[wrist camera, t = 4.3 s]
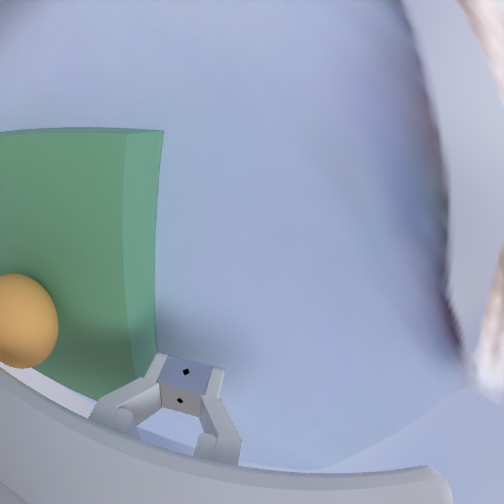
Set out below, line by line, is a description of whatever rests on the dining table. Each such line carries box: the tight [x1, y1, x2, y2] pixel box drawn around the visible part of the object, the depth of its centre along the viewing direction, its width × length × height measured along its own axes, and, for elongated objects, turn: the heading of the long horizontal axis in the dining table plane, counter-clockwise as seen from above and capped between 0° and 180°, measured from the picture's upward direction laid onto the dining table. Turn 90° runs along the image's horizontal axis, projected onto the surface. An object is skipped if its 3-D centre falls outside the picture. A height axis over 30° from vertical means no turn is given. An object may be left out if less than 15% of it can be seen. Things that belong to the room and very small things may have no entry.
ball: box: [0, 273, 58, 369], centre depth 11 cm, size 5×5×5 cm
